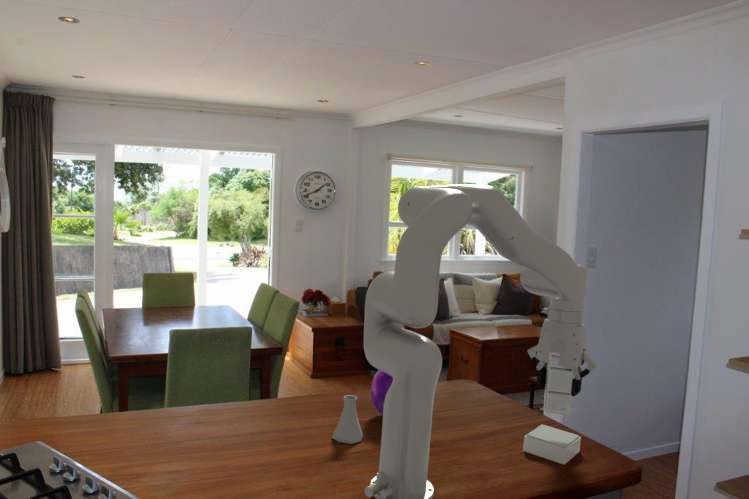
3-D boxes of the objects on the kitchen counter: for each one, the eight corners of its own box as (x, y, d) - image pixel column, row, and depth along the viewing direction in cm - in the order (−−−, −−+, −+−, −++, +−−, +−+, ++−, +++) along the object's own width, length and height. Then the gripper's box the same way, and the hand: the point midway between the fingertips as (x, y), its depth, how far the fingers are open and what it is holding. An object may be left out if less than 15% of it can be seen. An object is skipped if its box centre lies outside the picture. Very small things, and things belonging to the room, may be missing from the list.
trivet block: (564, 464, 137) (566, 447, 137) (522, 450, 143) (524, 434, 143) (579, 451, 145) (581, 435, 145) (539, 438, 151) (541, 423, 151)
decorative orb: (394, 434, 147) (399, 374, 146) (357, 414, 159) (361, 358, 158) (438, 423, 157) (443, 366, 155) (400, 404, 168) (404, 351, 167)
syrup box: (570, 416, 140) (576, 354, 139) (543, 412, 141) (550, 351, 140) (567, 407, 146) (573, 348, 144) (542, 404, 147) (548, 345, 145)
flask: (326, 439, 142) (329, 397, 141) (342, 429, 148) (345, 389, 147) (353, 447, 139) (356, 405, 138) (368, 437, 145) (371, 396, 144)
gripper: (523, 311, 143) (516, 384, 145) (598, 325, 133) (589, 404, 135) (536, 308, 149) (529, 378, 151) (608, 321, 139) (600, 396, 141)
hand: (557, 389), depth 143 cm, fingers closed on syrup box, 7 cm apart
